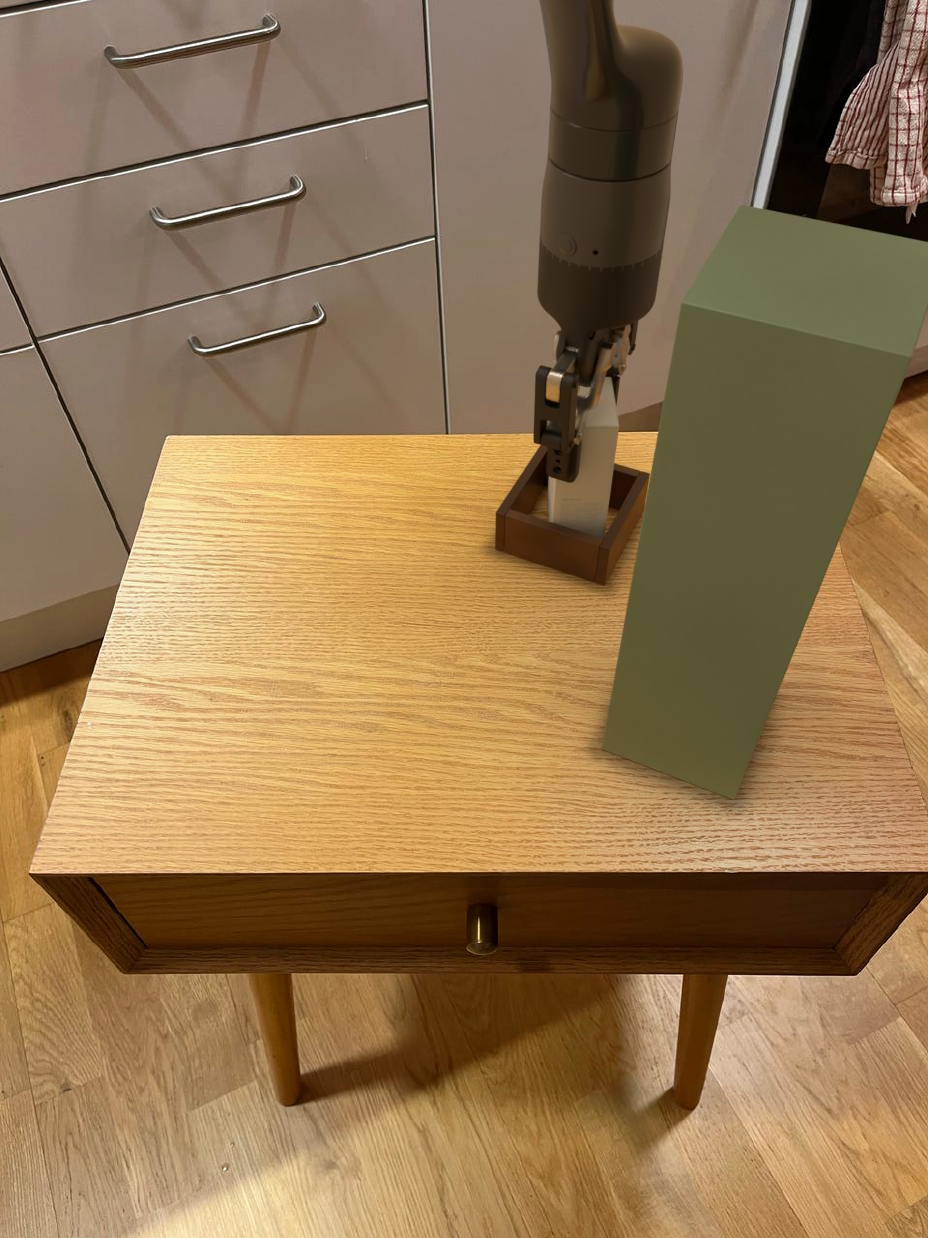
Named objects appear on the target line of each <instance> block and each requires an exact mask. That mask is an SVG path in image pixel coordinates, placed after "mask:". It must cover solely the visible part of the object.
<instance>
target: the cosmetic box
mask: <svg viewBox="0 0 928 1238" xmlns="http://www.w3.org/2000/svg"><path fill="white" fill-rule="evenodd" d="M589 391H590V387H582V386H580V391H579V393H578V395H582V396H587V395H588V393H589ZM576 415H577V409H576ZM619 429H620V423H619V415H618V408H617V407H616V402H615V397H614V391H613V385H612V378H611V377H605V380H604V384H603V388H602V392H601V395H600V399H599V403H598V406H597V407H596V408H595V409H594V410H591V411H589V413H588V416H587V420H586V424H585V428H584V431H583V433H584V435H583V438H582V444H581V454H580V464H579V474H578V476H577V478H576V479H575V481H574V482H572V483H568V482H565V481H561V480H558V479H555V478H551V477H550V476H549V481H548V488H547V496H546V501H547V505H546V506H547V519H548V520H547V521H548V522H552V523H555V524H558V525H561V526H564V527H567V528H570V529H574V530H577V531H580V532H583V533H586V534H589V535H592V536H596V537H599V538H602V539H604V537H605V536H606V528H607V521H608V513H609V508H610V507H609V499H610V492H611V484H612V476H613V469H614V463H615V461H616V453H617V446H618V439H619V431H620V430H619Z"/></svg>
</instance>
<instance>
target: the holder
mask: <svg viewBox="0 0 928 1238" xmlns="http://www.w3.org/2000/svg"><path fill="white" fill-rule="evenodd" d="M547 448H548V447H546V446H543V445H539V447H538V448H537V450H536V451H535V453H534V454H533V456H532V457H531V459H530V460H529V461H528V463H527V464H526V466H525V467H524V469H523V471H522V472H521V474H520V475H519V477H518V478H517V480H516V481H515V483H514V484H513V486H512V487H511V489H510V490H509V492H508V493H507V494H506V496H505V497H504V499H503V501H502V502H501V504H500V506H499V507H498V508H497V509H496V511H495V532H494V533H495V535H494V537H495V538H494V539H495V540H494V549H495V550H496V551H500V552H503V553H505V554H508V555H511V556H514V557H517V558H520V559H522V560H523V559H524V560H527V561H528V562H532V563H535V564H538V565H542V566H544V567H547V568H550V569H553V570H556V571H559V572H562V573H565V574H568V575H571V576H575V577H577V578H580V579H584V580H586V581H589V582H592V583H595V584H597V585H598V584H599V585H602V586H605V585H606V584H607V582H608V580H609V578H610V575H611V574H612V572H613V570H614V568H615V566H616V564H617V562H618V561H619V559H620V557H621V555H622V553H623V551H624V549H625V547H626V545H627V543H628V541H629V540H630V538H631V536H632V534H633V533H634V530H635V528H636V526H637V525H638V523H639V520H640V518H641V517H642V516H643V514H644V509H645V503H646V497H647V492H648V486H649V481H650V475H651V472H650V473H649V472H647V471H644V470H639V469H636V468H634V467H633V468H632V467H629V466H626V465H622V464H619V463H615V462H614V469H613V476H612V484H611V492H610V499H609V507H608V508H611V509H614V510H615V509H616V510H618V512H617V513H616V515H615V517H614V518H613V521H612V523H611V524H610V527H609V529H607V532H606V533H605V537H604V539H602V538H599V537H596V536H592V535H589V534H586V533H583V532H580V531H577V530H574V529H570V528H567V527H564V526H561V525H558V524H555V523H552V522H548V520H545V519H542V518H539V517H535V516H532V515H529V513H530V511H531V509H532V508H533V507H534V505H535V503H536V502H537V500H538V499H539V497H540V495H541V494H542V492H543V491H544V489H545V488H547V489H548V481H549V476H548V475H547V473H546V464H547Z"/></svg>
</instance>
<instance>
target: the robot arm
mask: <svg viewBox="0 0 928 1238" xmlns="http://www.w3.org/2000/svg"><path fill="white" fill-rule="evenodd" d="M614 2H615V0H538V3H539V8H540V13H541V18H542V24H543V31H544V38H545V43H546V50H547V51H546V52H547V58H548V64H549V73H550V88H551V89H550V100H549V101H550V102H549V104H550V105H549V120H548V121H549V122H548V140H547V141H548V142H547V143H548V144H547V158H546V166H545V171H544V177H543V182H542V188H541V201H540V222H539V240H538V241H539V242H538V264H537V265H538V266H537V288H536V290H537V291H536V294H537V299H538V302H539V304H540V306H541V307H542V309H543V310H544V311H545V312H546V313H547V314H548V315H549V316H550V317H551V318H552V319H553V320H554V321H555V322H556V323H557V324H558V326H559V327H560V328H559V329H557V332H556V333H555V335H554V340H553V343H552V347H551V348H552V349H551V354H552V356H553V360H552V363H551V367H550V366H546V365H544V364H543V365H542V364H540V365H539V366H538V368H537V370H536V372H535V376H534V383H535V384H534V406H533V407H534V409H533V410H534V411H533V435H532V436H533V438H532V439H533V444H536V445H539V446H540V445H543V446H546V447H548V448H547V464H546V473H547V475H548V476H550V477H551V478H555V479H558V480H561V481H565V482H568V483H572V482H574V481H575V479H576V478H577V476H578V474H579V464H580V454H581V444H582V438H583V435H584V433H583V431H584V428H585V424H586V420H587V416H588V413H589V411H591V410H594V409H595V408H596V407H597V406H598V403H599V399H600V395H601V392H602V388H603V384H604V380H605V377H611V378H612V385H613V391H614V397H615V402H616V408H617V407H618V405H617V404H618V398H619V390H620V382H621V376H623V375H624V372H625V371H626V370H627V358H628V356H632V354H633V352H634V351H635V350H636V346H637V344H636V341H637V334H638V327H639V321H640V320H641V319H643V318H644V317H646V316H647V315H648V314H649V312H650V311H651V310H652V309H653V307H654V305H655V302H656V299H657V293H658V286H659V278H660V271H661V265H662V260H663V259H662V258H663V251H664V244H665V237H666V231H667V223H668V218H669V211H670V205H671V193H672V192H671V191H672V190H671V187H672V184H671V183H672V182H671V181H672V180H671V179H672V178H671V177H672V158H673V153H674V146H675V139H676V133H677V132H676V131H677V125H678V124H677V123H678V118H679V111H680V110H679V109H680V105H681V103H680V102H681V97H682V90H683V81H684V62H683V56H682V52H681V50H680V48H679V47H678V45H677V44H676V42H675V41H673V39H671V38H670V37H669V36H667V35H665V34H663V33H661V32H659V31H656V30H654V29H649V28H646V27H640V26H637V25H636V26H635V25H628V24H627V25H626V24H619V23H618V24H617V19H616V14H615V9H614V8H615V6H614V5H615V3H614ZM580 386H582V387H590V391H589V393H588V395H587V396H582V395H578V393H579V391H580ZM576 409H577V415H576Z"/></svg>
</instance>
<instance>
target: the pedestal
mask: <svg viewBox="0 0 928 1238" xmlns="http://www.w3.org/2000/svg"><path fill="white" fill-rule="evenodd" d="M927 312H928V241H924V240H919V239H914V238H909V237H903V236H898V235H894V234H889V233H885V232H880V231H874V230H869V229H864V228H860V227H854V226H849V225H845V224H839V223H835V222H830V221H825V220H821V219H816V218H815V219H813V218H811V217H806V216H805V217H804V216H800V215H795V214H789V213H785V212H779V211H775V210H770V209H765V208H760V207H756V206H751V205H745V204H740V206H739V207H738V208H737V210H736V211H735V213H734V215H733V216H732V218H731V220H730V221H729V223H728V225H727V226H726V228H725V229H724V232H723V233H722V235H721V237H720V238H719V240H718V241H717V243H716V245H715V247H714V248H713V250H712V251H711V253H710V254H709V256H708V258H707V260H706V261H705V263H704V265H703V266H702V268H701V270H700V271H699V273H698V275H697V276H696V278H695V280H694V281H693V283H692V284H691V286H690V287H689V289H688V290H687V292H686V294H685V296H684V298H683V299H682V301H681V303H680V308H679V314H678V320H677V324H676V331H675V336H674V342H673V348H672V353H671V358H670V362H669V363H670V364H669V370H668V375H667V380H666V386H665V390H664V397H663V403H662V409H661V415H660V419H659V425H658V430H657V437H656V441H655V447H654V453H653V459H652V464H651V469H650V478H649V483H648V489H647V495H646V500H645V506H644V511H643V513H642V519H641V526H640V532H639V537H638V538H639V539H638V543H637V549H636V555H635V560H634V565H633V570H632V576H631V580H630V581H631V582H630V587H629V592H628V599H627V604H626V610H625V614H624V615H625V616H624V621H623V627H622V632H621V637H620V643H619V649H618V654H617V659H616V660H617V662H616V666H615V671H614V676H613V683H612V689H611V694H610V698H609V704H608V711H607V717H606V720H605V721H606V722H605V728H604V731H603V732H604V733H603V738H602V743H601V750H603V751H606V752H608V753H611V754H614V755H616V756H618V757H622V758H624V759H627V760H628V761H629V760H630V761H632V762H634V763H637V764H640V765H643V766H645V767H647V768H650V769H653V770H654V771H657V772H660V773H663V774H665V775H667V776H668V775H669V776H671V777H673V778H676V779H678V780H681V781H684V782H687V783H689V784H692V785H694V786H697V787H700V788H702V789H705V790H707V791H710V792H713V793H715V794H717V795H720V796H722V797H725V798H727V799H731V800H736V798H737V795H738V793H739V791H740V787H741V785H742V783H743V781H744V778H745V775H746V774H747V773H746V772H747V770H748V768H749V765H750V763H751V760H752V758H753V755H754V753H755V751H756V748H757V745H758V743H759V741H760V738H761V735H762V734H763V731H764V728H765V725H766V723H767V722H768V721H767V720H768V718H769V716H770V714H771V710H772V708H773V706H774V703H775V702H776V698H777V696H778V693H779V691H780V689H781V686H782V684H783V681H784V678H785V676H786V674H787V671H788V668H789V666H790V664H791V661H792V658H793V656H794V653H795V651H796V649H797V646H798V644H799V641H800V640H801V639H800V638H801V636H802V634H803V631H804V629H805V626H806V624H807V621H808V618H809V617H810V613H811V611H812V609H813V606H814V604H815V601H816V599H817V596H818V594H819V592H820V589H821V586H822V584H823V583H824V582H823V581H824V579H825V577H826V574H827V571H828V569H829V568H830V567H829V566H830V564H831V563H832V562H831V561H832V559H833V557H834V554H835V552H836V549H837V547H838V544H839V541H840V539H841V537H842V534H843V532H844V529H845V527H846V524H847V522H848V519H849V516H850V515H851V512H852V509H853V506H854V504H855V502H856V500H857V498H858V495H859V492H860V489H861V488H862V485H863V482H864V479H865V478H866V474H867V473H868V470H869V467H870V465H871V462H872V459H873V457H874V454H875V453H876V450H877V447H878V445H879V443H880V440H881V438H882V435H883V432H884V431H885V428H886V426H887V422H888V420H889V418H890V415H891V412H892V410H893V407H894V405H895V403H896V400H897V398H898V395H899V393H900V391H901V387H902V386H903V383H904V380H905V378H906V375H907V373H908V370H909V368H910V366H911V364H912V360H913V357H914V355H915V351H916V348H917V345H918V343H919V338H920V334H921V332H922V329H923V325H924V322H925V319H926V315H927Z"/></svg>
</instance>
